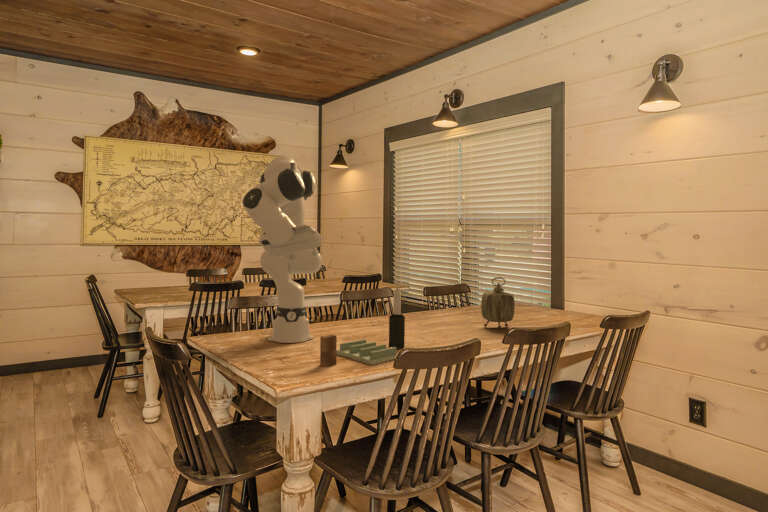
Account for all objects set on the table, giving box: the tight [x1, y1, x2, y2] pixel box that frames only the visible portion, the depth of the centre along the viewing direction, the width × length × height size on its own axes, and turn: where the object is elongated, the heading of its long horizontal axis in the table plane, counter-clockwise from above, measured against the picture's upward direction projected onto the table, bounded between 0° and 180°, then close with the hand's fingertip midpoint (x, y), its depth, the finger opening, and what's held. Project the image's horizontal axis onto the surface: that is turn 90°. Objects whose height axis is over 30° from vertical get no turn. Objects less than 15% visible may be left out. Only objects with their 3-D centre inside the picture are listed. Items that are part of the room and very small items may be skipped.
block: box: [319, 334, 338, 367], centre depth 167 cm, size 5×2×10 cm, turn 133°
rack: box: [336, 338, 398, 366], centre depth 179 cm, size 14×20×4 cm
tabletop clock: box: [480, 276, 516, 329], centre depth 237 cm, size 14×9×25 cm, turn 97°
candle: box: [388, 284, 406, 349], centre depth 194 cm, size 5×5×25 cm
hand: (305, 256), depth 164 cm, fingers open, 8 cm apart
